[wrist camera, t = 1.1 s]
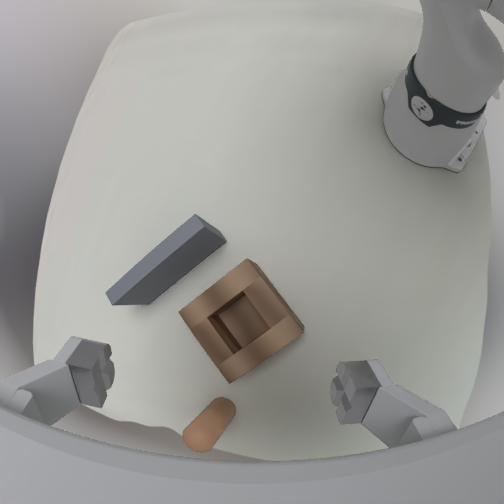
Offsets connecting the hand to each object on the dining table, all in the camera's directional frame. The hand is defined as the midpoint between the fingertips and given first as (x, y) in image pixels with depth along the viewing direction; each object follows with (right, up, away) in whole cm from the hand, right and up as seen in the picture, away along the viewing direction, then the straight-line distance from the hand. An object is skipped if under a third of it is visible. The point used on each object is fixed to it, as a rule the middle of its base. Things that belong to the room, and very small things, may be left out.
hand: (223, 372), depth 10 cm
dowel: (-3, -20, +32) cm, 37 cm away
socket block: (+1, -5, +33) cm, 33 cm away
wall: (-10, +2, +36) cm, 37 cm away
